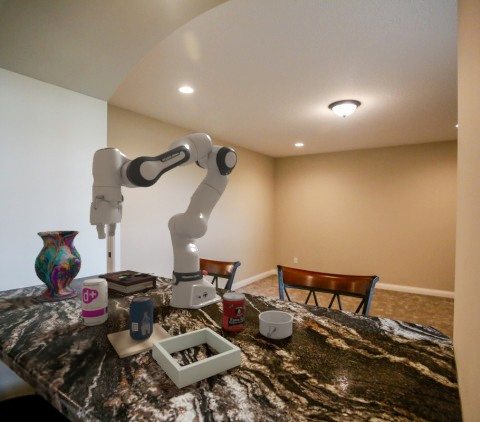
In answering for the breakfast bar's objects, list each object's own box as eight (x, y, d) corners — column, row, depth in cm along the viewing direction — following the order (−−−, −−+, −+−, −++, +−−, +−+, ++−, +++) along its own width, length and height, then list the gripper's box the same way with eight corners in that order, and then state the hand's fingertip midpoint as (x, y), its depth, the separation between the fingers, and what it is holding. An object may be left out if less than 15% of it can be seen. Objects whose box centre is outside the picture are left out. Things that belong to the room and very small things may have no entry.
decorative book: (127, 267, 164) (161, 274, 146) (127, 280, 164) (161, 289, 147) (93, 273, 149) (126, 282, 131) (93, 288, 149) (126, 299, 131)
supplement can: (97, 327, 99) (97, 283, 99) (76, 325, 100) (76, 282, 100) (112, 318, 107) (112, 278, 107) (92, 316, 108) (92, 277, 108)
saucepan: (248, 352, 82) (248, 332, 82) (261, 324, 102) (261, 309, 101) (289, 357, 79) (289, 337, 79) (294, 328, 98) (294, 312, 98)
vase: (89, 294, 136) (89, 231, 136) (46, 305, 121) (46, 234, 121) (68, 288, 146) (68, 229, 146) (27, 298, 131) (27, 232, 130)
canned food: (228, 333, 94) (228, 300, 94) (219, 325, 101) (219, 293, 101) (249, 329, 98) (249, 297, 97) (238, 321, 105) (238, 291, 105)
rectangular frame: (207, 340, 89) (207, 327, 89) (240, 364, 75) (240, 349, 75) (152, 356, 79) (152, 342, 79) (178, 388, 65) (179, 371, 65)
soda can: (138, 330, 94) (138, 294, 94) (157, 333, 92) (157, 296, 92) (124, 340, 87) (124, 300, 87) (144, 343, 86) (144, 302, 85)
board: (156, 325, 101) (156, 323, 101) (175, 342, 88) (175, 339, 88) (107, 337, 91) (107, 334, 91) (120, 358, 78) (120, 355, 78)
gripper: (105, 194, 86) (105, 240, 86) (125, 197, 107) (125, 234, 107) (83, 194, 86) (83, 241, 86) (107, 197, 106) (107, 234, 106)
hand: (107, 237), depth 96 cm, fingers open, 8 cm apart
